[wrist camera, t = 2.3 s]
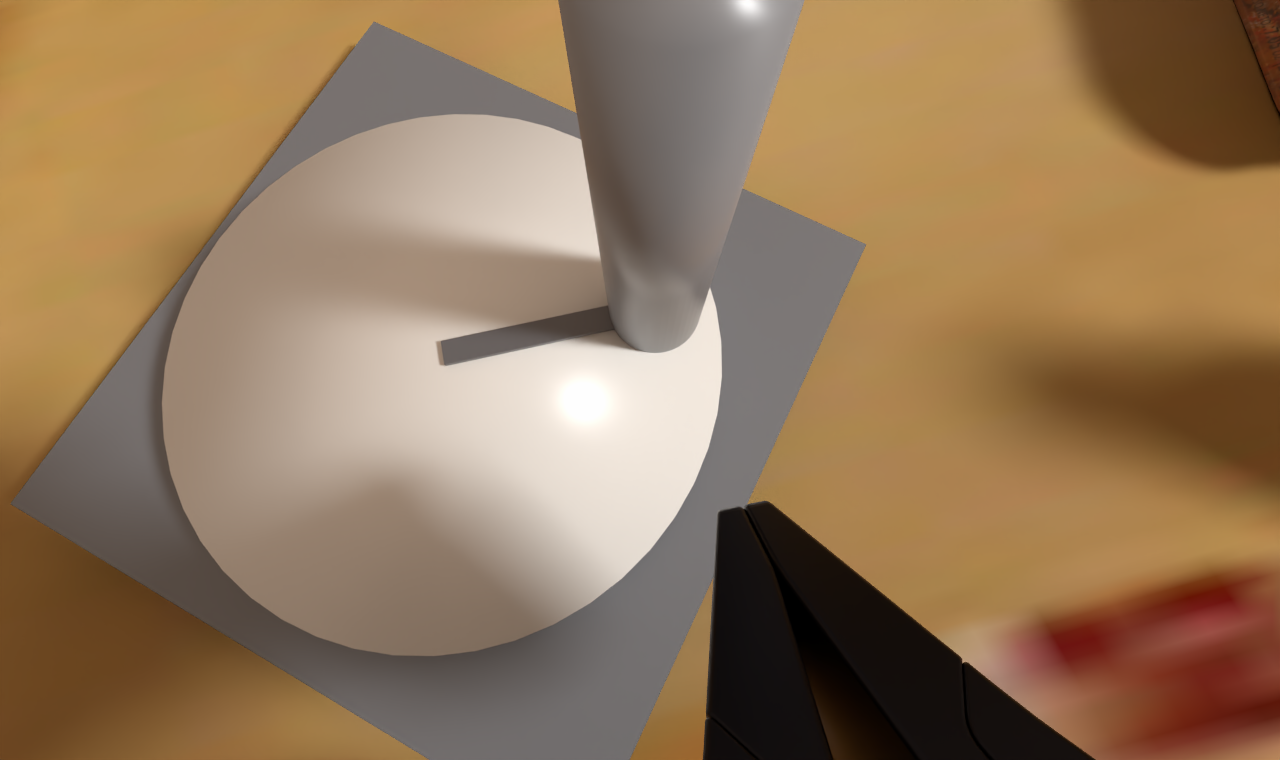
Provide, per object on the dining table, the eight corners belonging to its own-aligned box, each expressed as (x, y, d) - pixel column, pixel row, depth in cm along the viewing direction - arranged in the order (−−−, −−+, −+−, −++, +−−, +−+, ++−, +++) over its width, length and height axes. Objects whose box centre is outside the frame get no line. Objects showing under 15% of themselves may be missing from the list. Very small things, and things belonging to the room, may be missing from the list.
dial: (558, 754, 16) (195, 1892, 3) (90, 477, 18) (-1434, 415, 5) (797, 263, 20) (1118, -219, 6) (385, 72, 21) (-20, -608, 8)
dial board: (590, 824, 17) (585, 859, 16) (57, 503, 19) (3, 503, 18) (850, 261, 21) (868, 241, 20) (390, 51, 24) (371, 17, 22)
